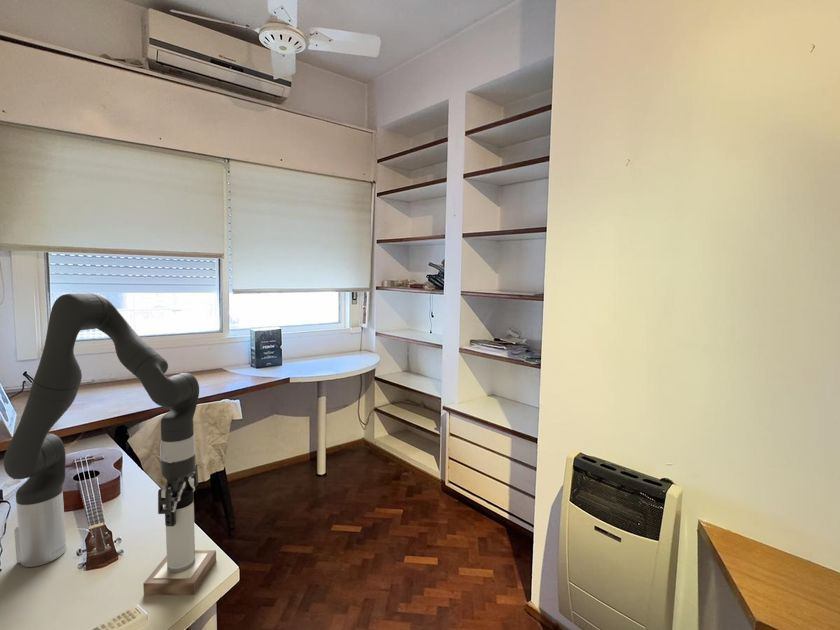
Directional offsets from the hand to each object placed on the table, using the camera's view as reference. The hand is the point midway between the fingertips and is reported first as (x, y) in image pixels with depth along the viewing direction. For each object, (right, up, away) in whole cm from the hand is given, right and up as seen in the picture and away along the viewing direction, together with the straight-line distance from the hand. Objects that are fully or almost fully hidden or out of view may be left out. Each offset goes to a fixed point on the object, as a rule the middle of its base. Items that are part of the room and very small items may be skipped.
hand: (180, 515), depth 105 cm
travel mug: (-1, -14, +2) cm, 14 cm away
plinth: (0, -17, +2) cm, 17 cm away
